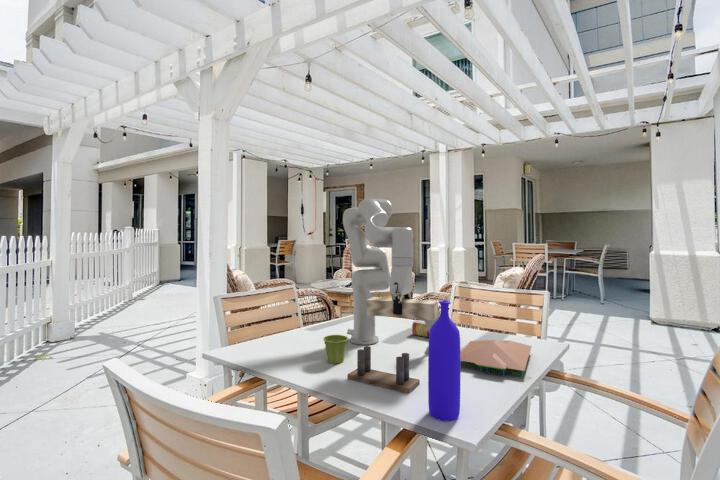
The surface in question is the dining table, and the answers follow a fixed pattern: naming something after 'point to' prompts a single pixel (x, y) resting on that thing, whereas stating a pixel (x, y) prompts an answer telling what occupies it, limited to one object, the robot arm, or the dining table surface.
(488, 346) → the house
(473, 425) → the dining table surface
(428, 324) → the chalice
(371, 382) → the peg stand
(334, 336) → the plant pot
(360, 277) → the robot arm
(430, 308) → the shelf board
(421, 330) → the snack package
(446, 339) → the bottle
